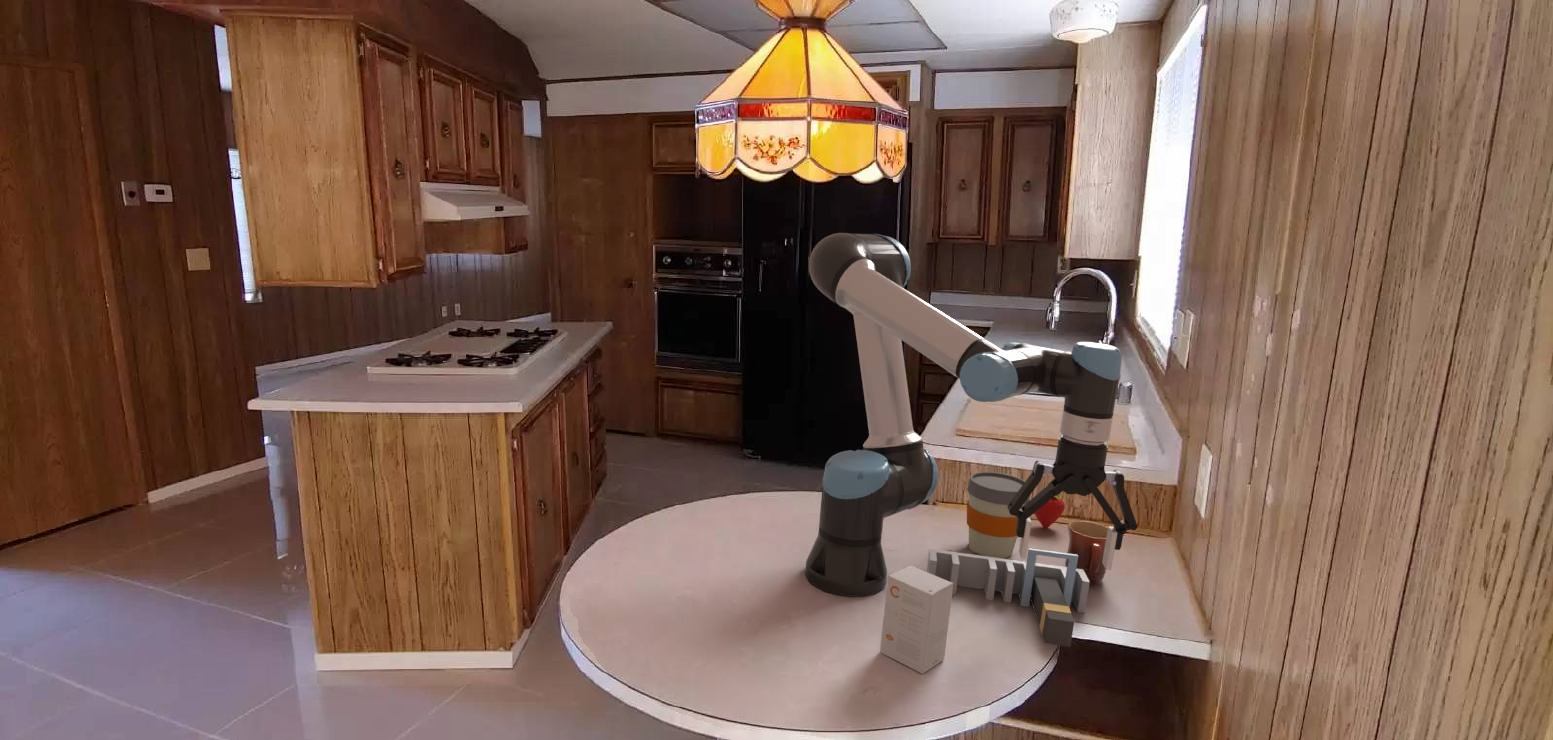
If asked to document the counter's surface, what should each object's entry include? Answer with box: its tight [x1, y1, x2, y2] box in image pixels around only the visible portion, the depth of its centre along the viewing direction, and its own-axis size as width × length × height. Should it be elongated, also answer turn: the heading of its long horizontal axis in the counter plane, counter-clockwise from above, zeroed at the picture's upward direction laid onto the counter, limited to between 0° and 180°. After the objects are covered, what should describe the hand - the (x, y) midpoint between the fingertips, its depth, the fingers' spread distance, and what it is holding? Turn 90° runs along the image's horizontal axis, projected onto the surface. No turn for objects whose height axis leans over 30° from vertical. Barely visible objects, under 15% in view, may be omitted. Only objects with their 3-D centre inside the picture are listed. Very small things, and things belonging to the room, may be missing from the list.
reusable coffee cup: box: [966, 471, 1031, 559], centre depth 166 cm, size 13×13×15 cm
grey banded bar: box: [1030, 576, 1075, 648], centre depth 138 cm, size 4×16×5 cm, turn 171°
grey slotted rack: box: [926, 548, 1090, 614], centre depth 147 cm, size 28×5×6 cm, turn 81°
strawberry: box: [1033, 494, 1066, 529], centre depth 181 cm, size 6×8×10 cm
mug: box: [1064, 520, 1108, 586], centre depth 155 cm, size 12×9×10 cm
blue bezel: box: [1019, 547, 1078, 610], centre depth 142 cm, size 8×1×11 cm, turn 81°
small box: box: [879, 565, 953, 675], centre depth 123 cm, size 8×6×13 cm
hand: (1064, 561), depth 133 cm, fingers open, 13 cm apart
